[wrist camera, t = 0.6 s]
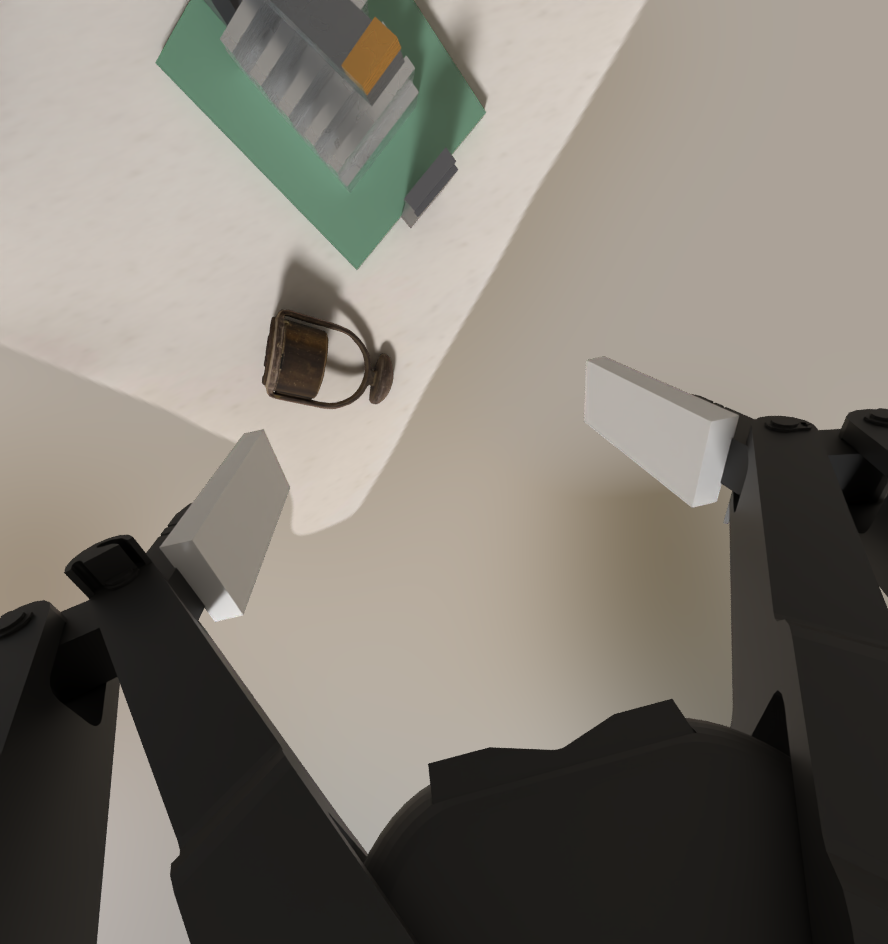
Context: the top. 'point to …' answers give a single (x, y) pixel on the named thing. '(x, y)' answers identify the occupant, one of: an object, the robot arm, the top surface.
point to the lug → (428, 187)
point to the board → (292, 161)
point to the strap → (346, 41)
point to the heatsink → (317, 91)
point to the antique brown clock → (313, 363)
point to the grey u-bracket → (224, 9)
